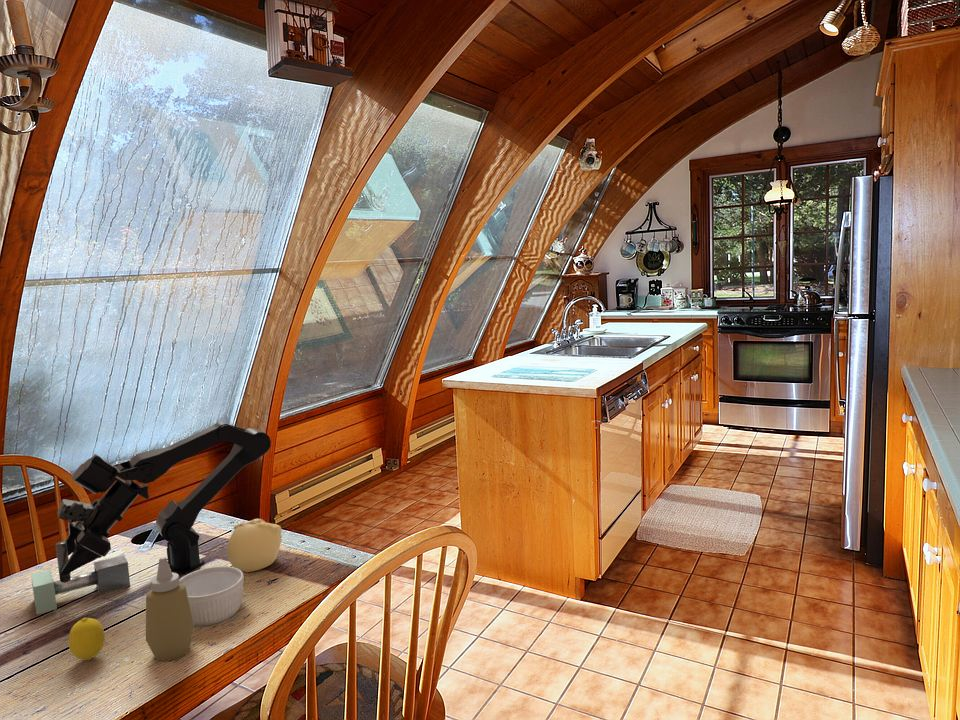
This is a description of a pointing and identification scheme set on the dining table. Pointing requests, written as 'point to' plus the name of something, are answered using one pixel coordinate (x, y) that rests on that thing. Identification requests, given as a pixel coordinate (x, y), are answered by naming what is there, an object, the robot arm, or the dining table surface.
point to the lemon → (86, 638)
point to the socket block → (43, 591)
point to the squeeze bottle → (168, 615)
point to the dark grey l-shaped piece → (67, 581)
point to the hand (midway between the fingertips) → (60, 566)
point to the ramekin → (213, 593)
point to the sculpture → (254, 545)
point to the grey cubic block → (112, 574)
